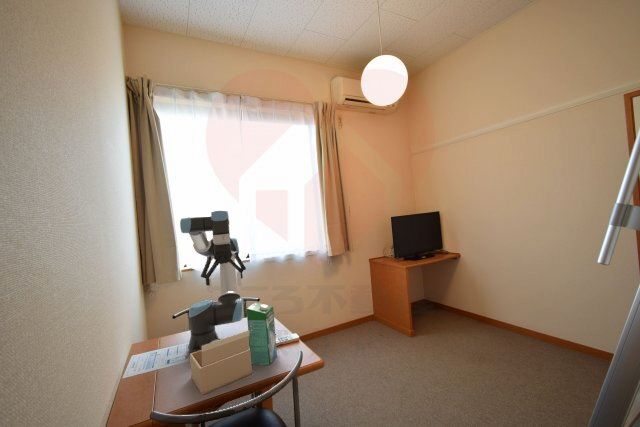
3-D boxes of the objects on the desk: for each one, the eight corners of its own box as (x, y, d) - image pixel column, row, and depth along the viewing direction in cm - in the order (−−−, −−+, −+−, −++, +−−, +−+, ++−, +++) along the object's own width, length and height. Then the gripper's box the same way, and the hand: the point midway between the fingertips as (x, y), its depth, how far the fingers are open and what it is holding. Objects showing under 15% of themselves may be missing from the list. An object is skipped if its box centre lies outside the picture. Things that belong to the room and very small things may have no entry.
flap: (201, 345, 105) (201, 346, 104) (249, 329, 116) (249, 330, 116) (201, 365, 106) (202, 366, 106) (248, 348, 118) (249, 349, 117)
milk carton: (269, 365, 124) (265, 308, 124) (250, 364, 126) (246, 308, 125) (277, 354, 133) (272, 301, 133) (259, 354, 134) (254, 301, 134)
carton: (191, 377, 119) (189, 353, 119) (237, 359, 131) (236, 338, 131) (202, 395, 106) (199, 368, 106) (252, 373, 118) (250, 349, 118)
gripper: (195, 247, 121) (199, 296, 121) (250, 240, 136) (253, 284, 136) (191, 246, 127) (195, 293, 127) (244, 240, 142) (247, 282, 142)
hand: (225, 289), depth 132 cm, fingers open, 13 cm apart
